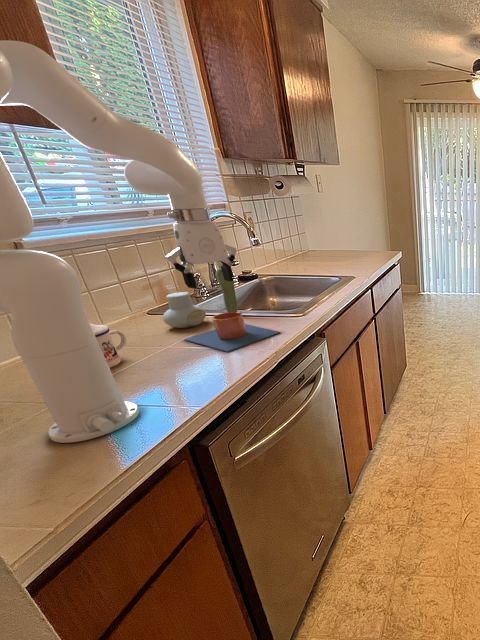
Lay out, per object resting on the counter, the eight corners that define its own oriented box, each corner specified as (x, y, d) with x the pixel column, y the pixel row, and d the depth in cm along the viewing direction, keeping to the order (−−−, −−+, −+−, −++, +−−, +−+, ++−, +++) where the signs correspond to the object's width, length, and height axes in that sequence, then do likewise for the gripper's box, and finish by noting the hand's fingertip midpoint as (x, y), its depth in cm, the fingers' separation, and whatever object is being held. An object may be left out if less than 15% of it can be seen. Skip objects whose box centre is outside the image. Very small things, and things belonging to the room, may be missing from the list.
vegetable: (229, 314, 135) (212, 254, 127) (243, 312, 137) (227, 253, 128) (226, 318, 132) (208, 256, 123) (241, 316, 133) (224, 255, 124)
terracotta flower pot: (252, 333, 117) (247, 313, 114) (228, 341, 111) (222, 321, 108) (237, 329, 120) (231, 310, 117) (213, 337, 114) (206, 317, 112)
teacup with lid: (88, 376, 93) (65, 329, 88) (65, 371, 96) (42, 325, 91) (143, 357, 103) (126, 313, 98) (121, 352, 106) (103, 310, 101)
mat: (280, 333, 118) (280, 331, 118) (227, 352, 105) (227, 351, 105) (237, 323, 126) (237, 322, 126) (184, 340, 113) (184, 339, 113)
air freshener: (185, 331, 120) (174, 299, 116) (161, 330, 121) (149, 298, 117) (212, 320, 130) (203, 290, 125) (190, 319, 131) (180, 289, 127)
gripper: (162, 219, 91) (185, 292, 98) (234, 214, 105) (250, 279, 112) (145, 218, 95) (168, 289, 101) (217, 214, 109) (234, 277, 115)
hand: (211, 284), depth 107 cm, fingers open, 9 cm apart
